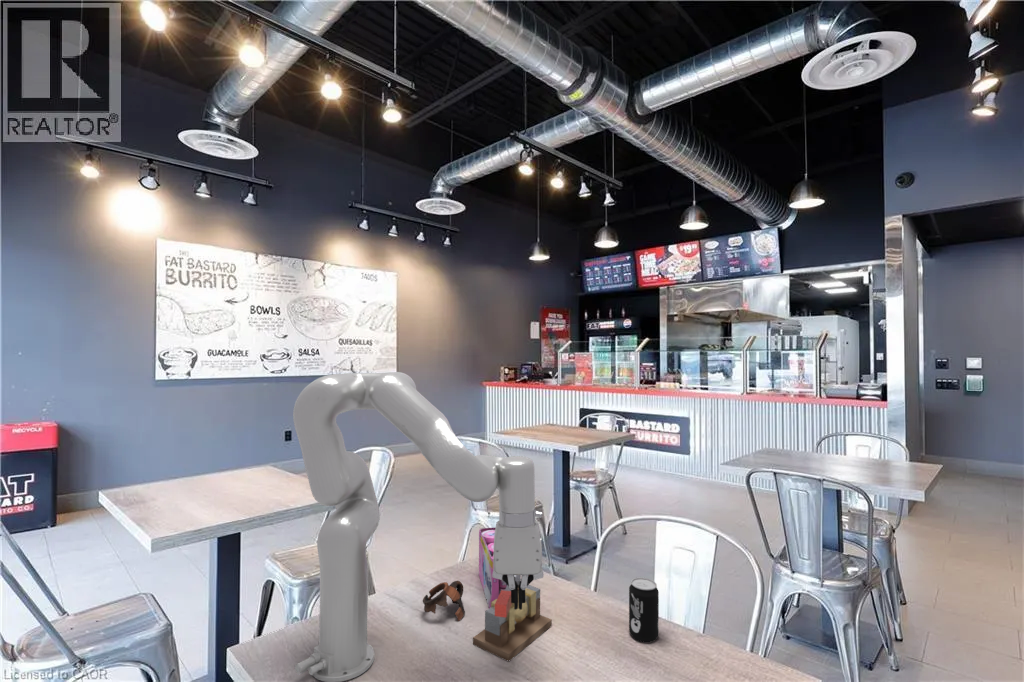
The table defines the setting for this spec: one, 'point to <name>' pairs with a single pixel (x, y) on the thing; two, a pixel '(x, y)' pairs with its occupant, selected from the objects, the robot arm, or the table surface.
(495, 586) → the gum box
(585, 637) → the table surface
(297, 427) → the robot arm
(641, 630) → the beverage can
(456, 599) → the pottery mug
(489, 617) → the ball valve
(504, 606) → the lever
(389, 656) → the table surface
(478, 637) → the valve board
